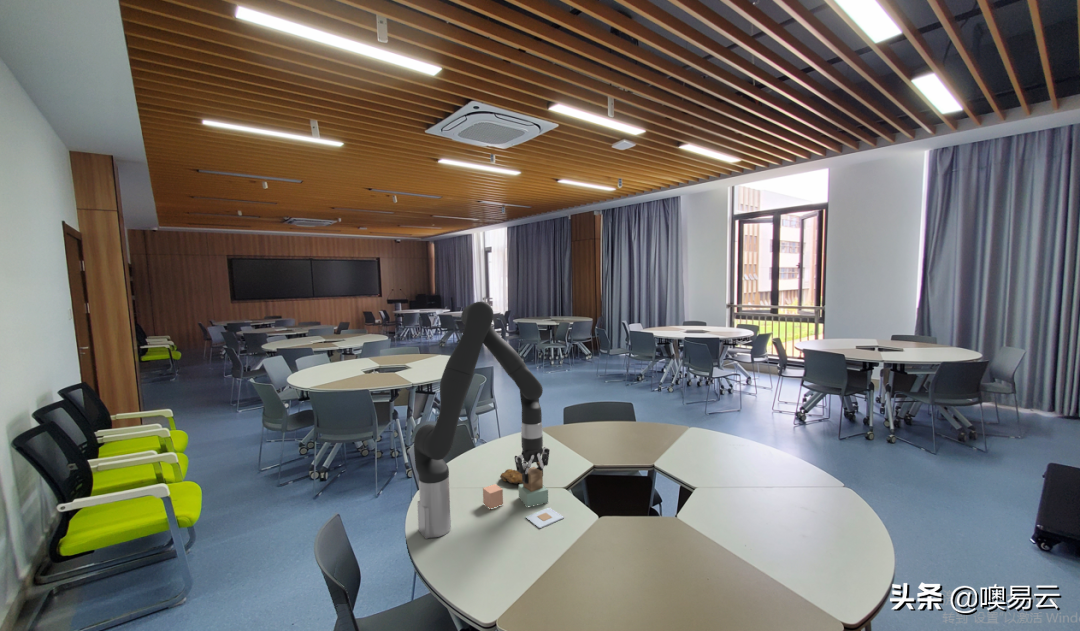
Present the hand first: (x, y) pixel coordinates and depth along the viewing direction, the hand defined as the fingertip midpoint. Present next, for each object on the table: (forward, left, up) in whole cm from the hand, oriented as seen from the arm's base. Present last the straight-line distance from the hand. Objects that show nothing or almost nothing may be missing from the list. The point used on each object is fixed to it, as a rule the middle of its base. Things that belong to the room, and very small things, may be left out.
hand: (532, 480), depth 154 cm
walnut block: (0, 0, -3) cm, 3 cm away
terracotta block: (-13, +6, -7) cm, 16 cm away
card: (-4, -12, -7) cm, 15 cm away
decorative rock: (+4, +16, -8) cm, 18 cm away
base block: (0, 0, -7) cm, 7 cm away
